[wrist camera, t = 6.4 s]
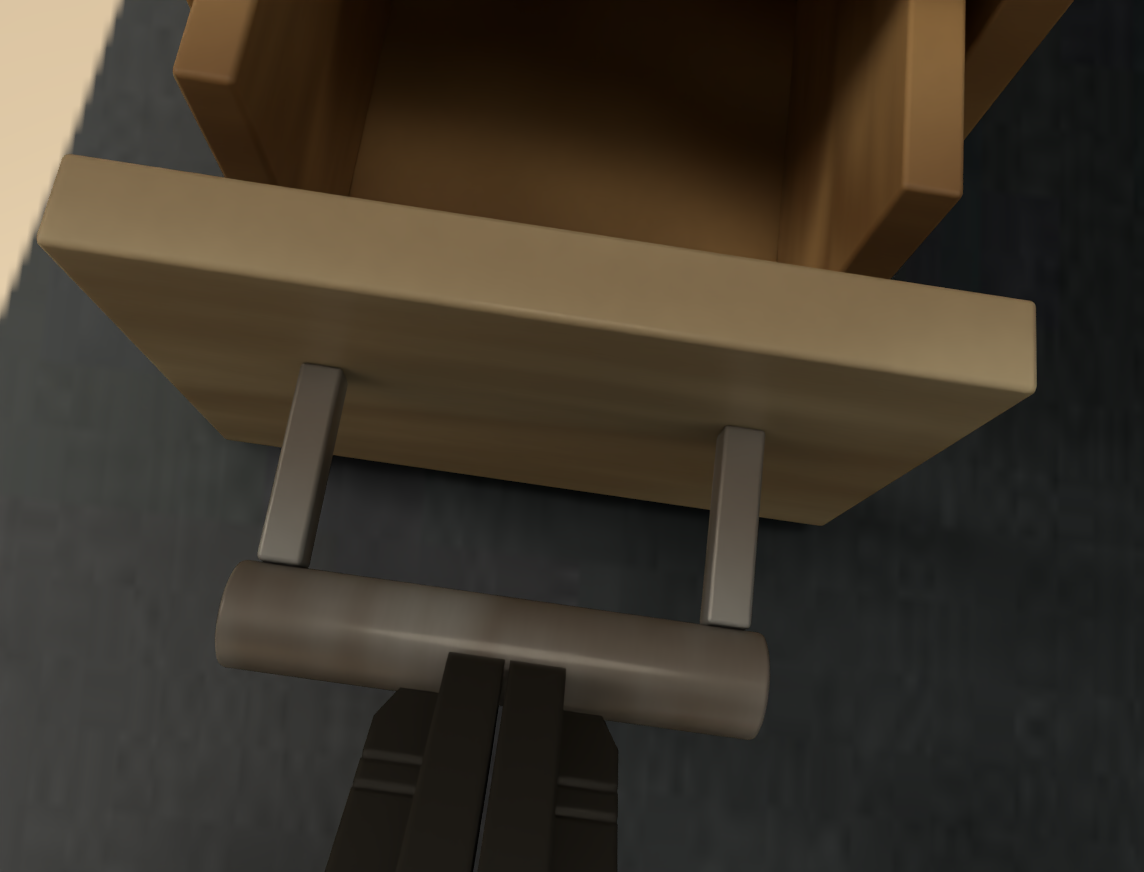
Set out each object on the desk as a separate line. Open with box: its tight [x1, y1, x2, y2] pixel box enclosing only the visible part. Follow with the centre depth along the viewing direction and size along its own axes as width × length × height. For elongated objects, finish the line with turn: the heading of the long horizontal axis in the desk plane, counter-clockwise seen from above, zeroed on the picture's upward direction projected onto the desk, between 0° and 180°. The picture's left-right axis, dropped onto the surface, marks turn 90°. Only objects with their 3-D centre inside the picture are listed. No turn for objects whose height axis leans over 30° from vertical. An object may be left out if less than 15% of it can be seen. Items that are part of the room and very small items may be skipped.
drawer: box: [37, 0, 1037, 740], centre depth 16 cm, size 18×12×8 cm, turn 172°
